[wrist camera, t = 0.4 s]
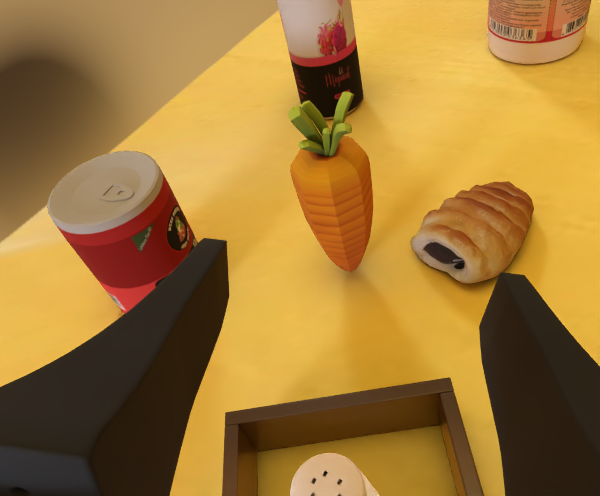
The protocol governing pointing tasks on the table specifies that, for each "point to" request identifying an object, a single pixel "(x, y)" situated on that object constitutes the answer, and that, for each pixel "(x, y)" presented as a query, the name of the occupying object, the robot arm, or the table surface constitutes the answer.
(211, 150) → the table surface
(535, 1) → the fruit juice
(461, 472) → the rectangular frame
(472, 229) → the pastry
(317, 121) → the carrot
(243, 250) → the table surface
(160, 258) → the canned food
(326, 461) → the salt shaker
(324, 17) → the beverage can
